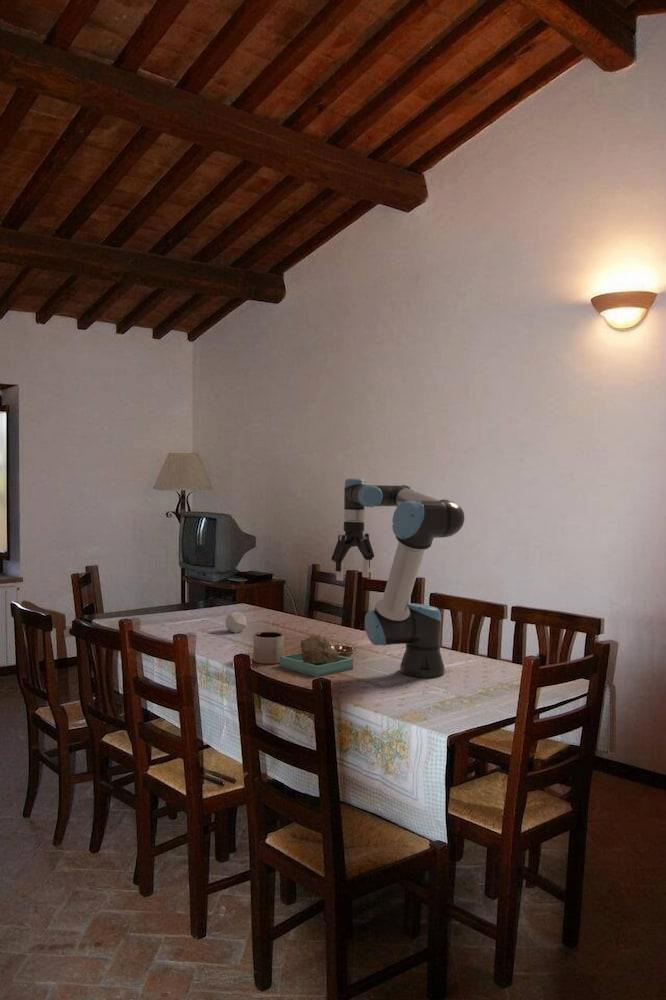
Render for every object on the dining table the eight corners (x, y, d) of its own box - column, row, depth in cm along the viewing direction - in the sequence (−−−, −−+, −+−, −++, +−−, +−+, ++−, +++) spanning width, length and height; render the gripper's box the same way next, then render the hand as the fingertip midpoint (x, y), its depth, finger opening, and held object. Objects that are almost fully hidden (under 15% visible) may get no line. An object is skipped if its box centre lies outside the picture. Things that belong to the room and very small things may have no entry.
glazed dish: (353, 669, 289) (353, 659, 289) (317, 677, 277) (317, 666, 277) (315, 658, 302) (315, 649, 302) (279, 666, 290) (279, 656, 290)
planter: (271, 666, 290) (272, 639, 290) (246, 661, 296) (247, 635, 296) (289, 660, 300) (290, 633, 299) (265, 656, 305) (265, 630, 305)
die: (250, 634, 346) (250, 612, 351) (239, 626, 339) (238, 604, 345) (233, 639, 349) (232, 618, 354) (221, 632, 342) (221, 610, 348)
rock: (306, 652, 281) (327, 634, 286) (288, 647, 292) (309, 630, 296) (322, 677, 284) (343, 659, 288) (304, 672, 294) (324, 654, 299)
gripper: (369, 519, 317) (368, 574, 318) (322, 521, 299) (321, 580, 300) (384, 520, 311) (383, 577, 312) (337, 522, 294) (335, 582, 295)
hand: (352, 578), depth 306 cm, fingers open, 13 cm apart
